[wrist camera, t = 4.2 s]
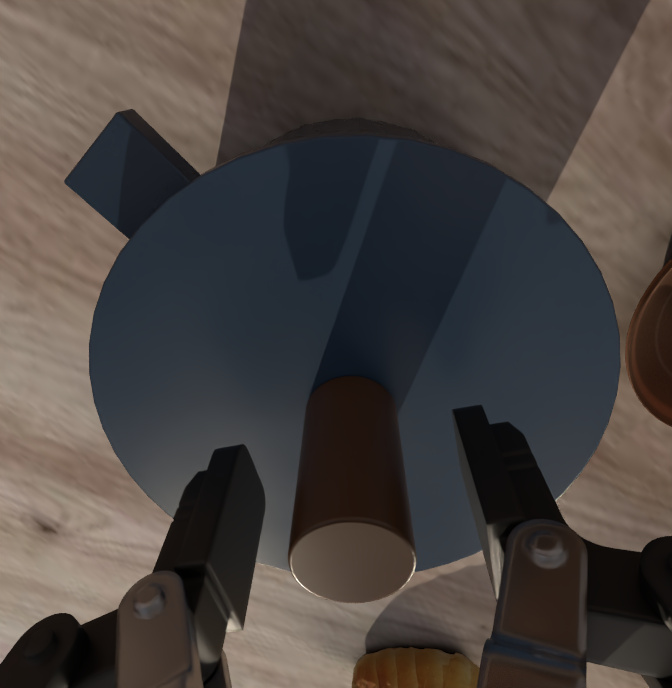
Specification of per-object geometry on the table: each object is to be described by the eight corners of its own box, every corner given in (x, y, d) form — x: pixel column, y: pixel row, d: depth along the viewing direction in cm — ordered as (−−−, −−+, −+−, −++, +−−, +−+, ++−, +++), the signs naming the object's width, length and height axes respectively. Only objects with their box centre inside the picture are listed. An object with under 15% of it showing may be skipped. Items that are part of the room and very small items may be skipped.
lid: (338, 600, 21) (335, 792, 15) (11, 375, 15) (-170, 543, 10) (691, 402, 15) (877, 586, 10) (374, -33, 10) (404, -137, 5)
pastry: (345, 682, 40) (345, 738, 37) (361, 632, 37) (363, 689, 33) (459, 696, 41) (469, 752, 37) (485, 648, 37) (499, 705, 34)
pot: (374, 468, 29) (384, 631, 21) (92, 229, 22) (-59, 327, 14) (588, 325, 24) (714, 464, 16) (310, -31, 18) (276, -114, 9)
